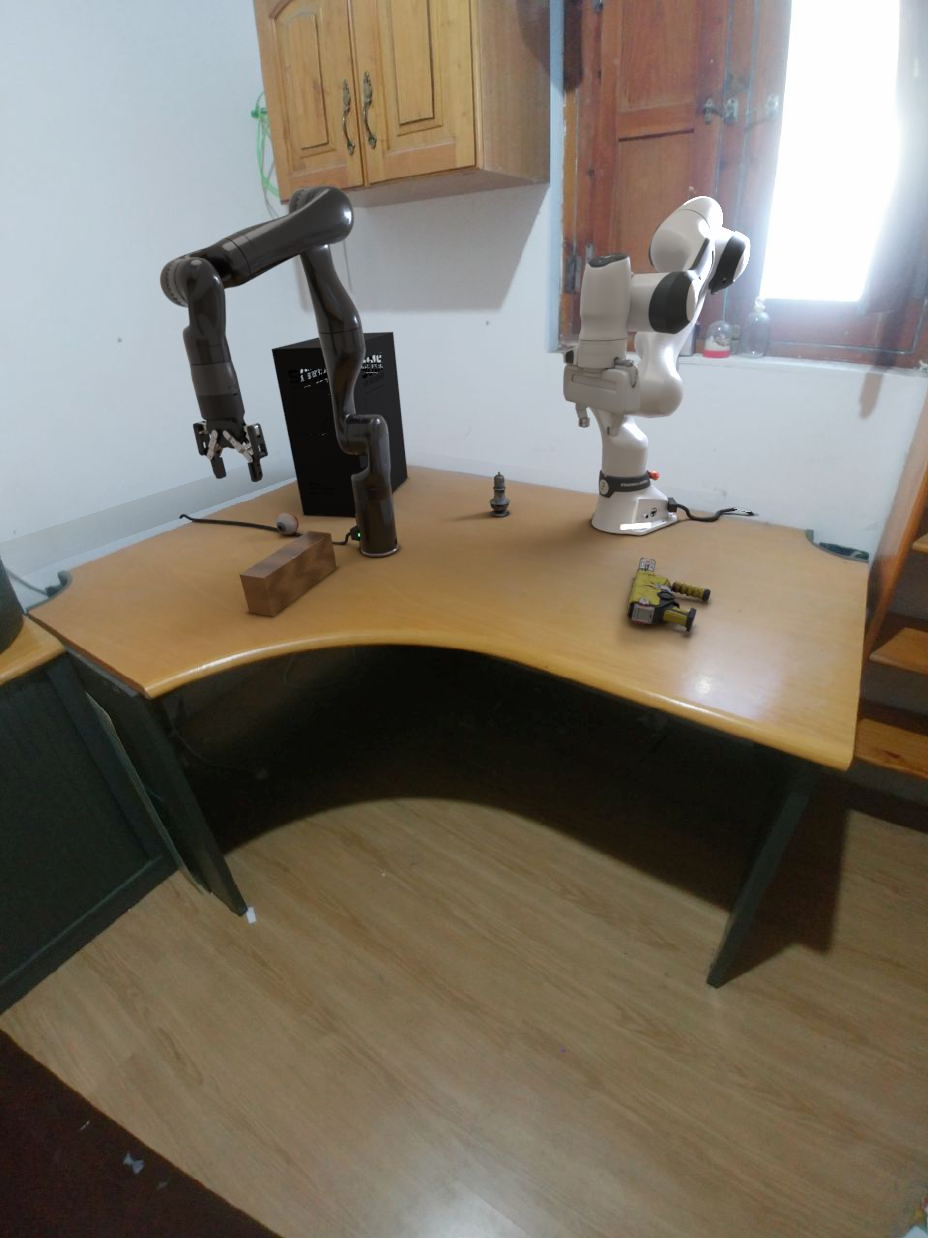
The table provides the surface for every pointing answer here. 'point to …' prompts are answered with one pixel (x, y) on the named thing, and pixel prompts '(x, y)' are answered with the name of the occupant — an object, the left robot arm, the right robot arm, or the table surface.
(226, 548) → the table surface
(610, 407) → the right robot arm
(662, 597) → the toy gun
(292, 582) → the box
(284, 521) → the eyeball
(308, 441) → the cardboard box
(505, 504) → the grey chess piece
